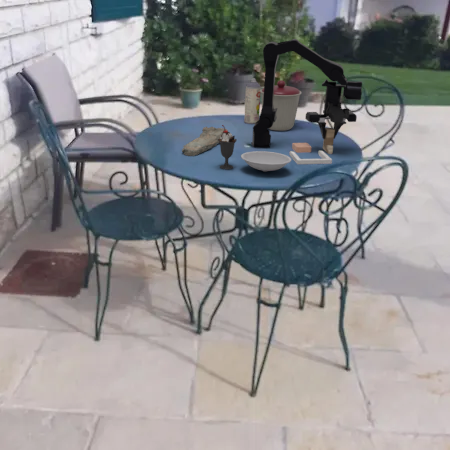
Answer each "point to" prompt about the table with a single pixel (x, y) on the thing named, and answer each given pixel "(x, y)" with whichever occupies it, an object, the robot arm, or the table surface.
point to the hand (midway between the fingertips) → (328, 138)
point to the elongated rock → (203, 141)
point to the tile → (301, 147)
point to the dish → (265, 160)
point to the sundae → (226, 147)
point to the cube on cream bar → (328, 140)
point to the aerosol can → (252, 102)
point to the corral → (324, 160)
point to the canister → (284, 105)
